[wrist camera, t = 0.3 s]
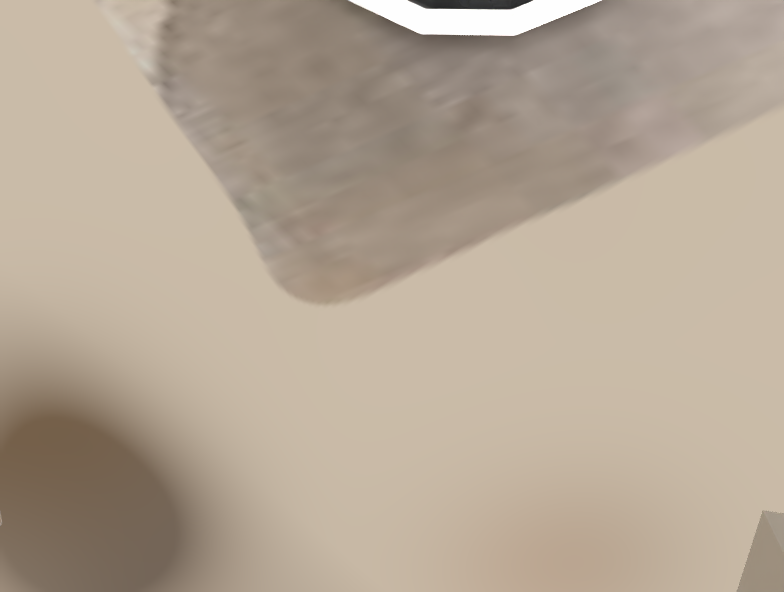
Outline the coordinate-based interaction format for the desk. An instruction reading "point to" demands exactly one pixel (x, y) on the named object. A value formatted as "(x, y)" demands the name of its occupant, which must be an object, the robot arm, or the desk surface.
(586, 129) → the desk surface
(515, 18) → the shallow grey dish
